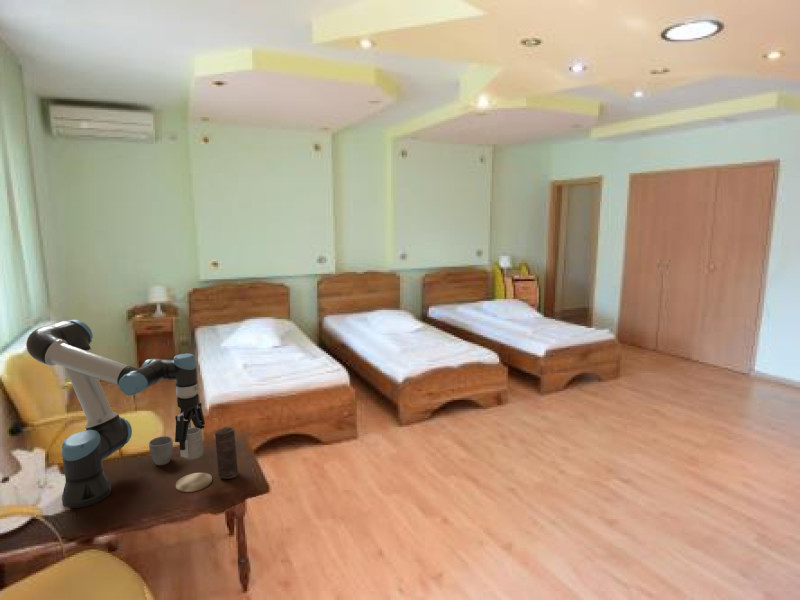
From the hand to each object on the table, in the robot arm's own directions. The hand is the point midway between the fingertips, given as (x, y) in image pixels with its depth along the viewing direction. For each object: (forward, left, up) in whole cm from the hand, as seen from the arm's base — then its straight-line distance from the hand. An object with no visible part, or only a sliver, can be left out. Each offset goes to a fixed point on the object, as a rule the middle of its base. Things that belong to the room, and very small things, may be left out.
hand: (192, 450), depth 184 cm
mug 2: (0, +1, -2) cm, 2 cm away
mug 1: (-23, +14, -14) cm, 30 cm away
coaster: (0, 0, -13) cm, 13 cm away
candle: (+10, +7, -14) cm, 18 cm away
